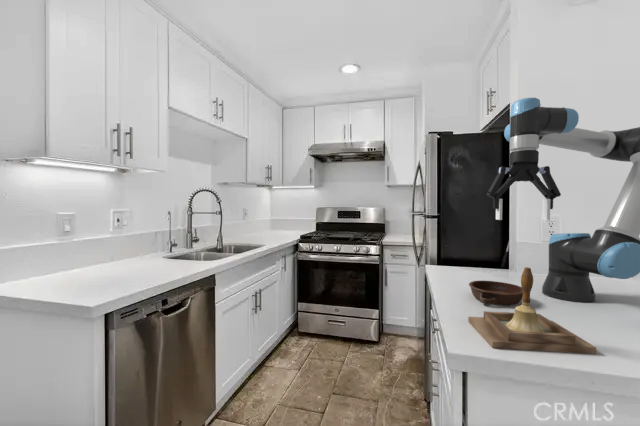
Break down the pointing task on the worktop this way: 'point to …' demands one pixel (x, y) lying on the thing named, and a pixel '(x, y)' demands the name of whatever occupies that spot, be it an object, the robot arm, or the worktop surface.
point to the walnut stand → (528, 335)
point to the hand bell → (525, 308)
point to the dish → (496, 292)
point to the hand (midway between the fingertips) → (522, 220)
